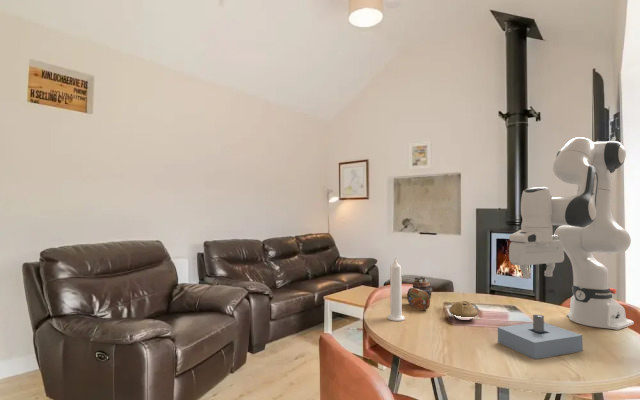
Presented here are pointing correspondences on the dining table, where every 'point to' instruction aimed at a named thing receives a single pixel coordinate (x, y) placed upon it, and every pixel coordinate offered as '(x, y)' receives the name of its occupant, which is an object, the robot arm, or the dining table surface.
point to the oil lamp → (463, 309)
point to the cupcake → (422, 285)
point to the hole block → (540, 340)
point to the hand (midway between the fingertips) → (537, 277)
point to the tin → (418, 299)
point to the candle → (396, 292)
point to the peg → (538, 324)
